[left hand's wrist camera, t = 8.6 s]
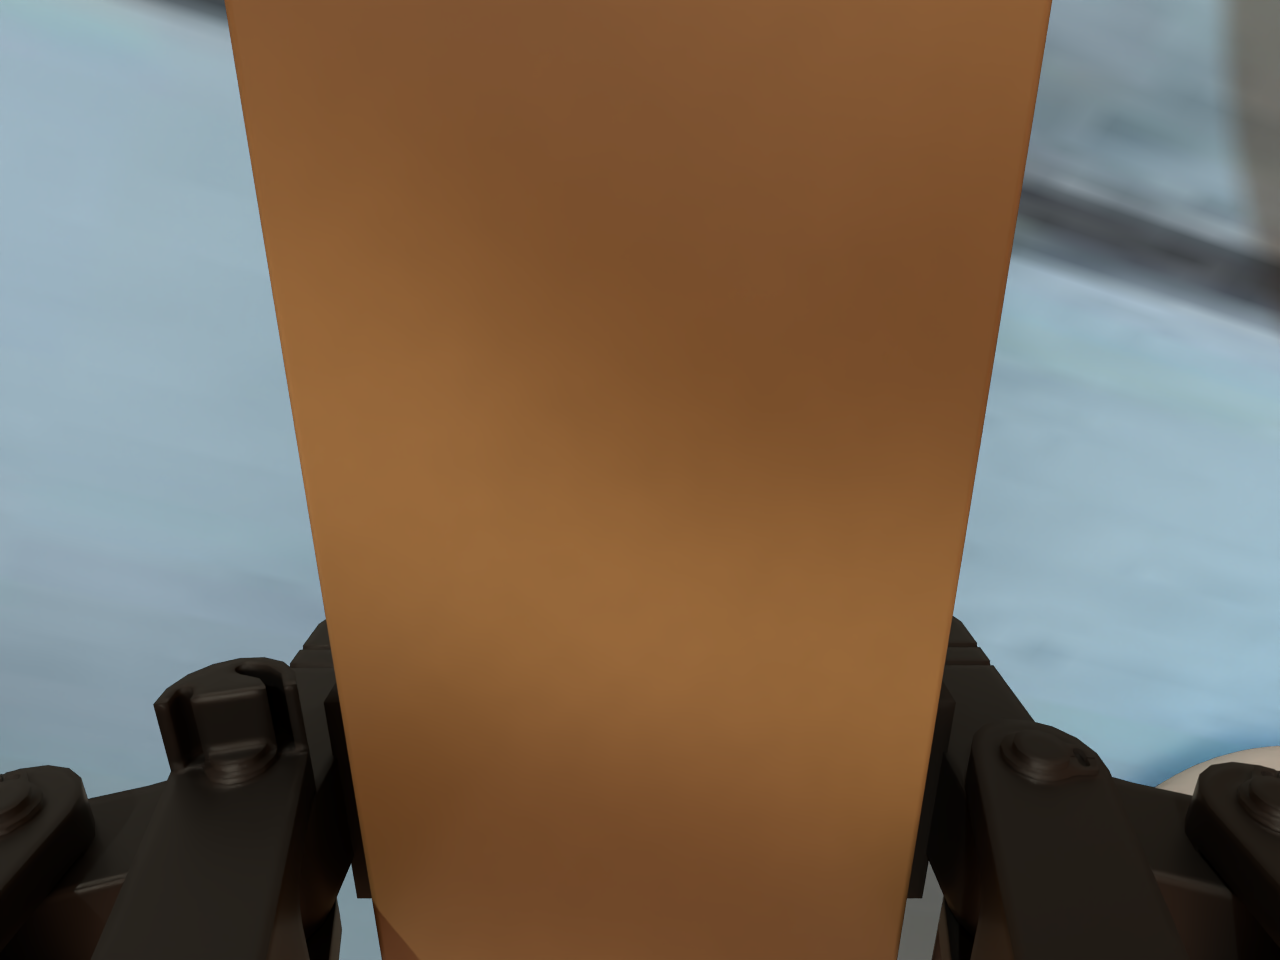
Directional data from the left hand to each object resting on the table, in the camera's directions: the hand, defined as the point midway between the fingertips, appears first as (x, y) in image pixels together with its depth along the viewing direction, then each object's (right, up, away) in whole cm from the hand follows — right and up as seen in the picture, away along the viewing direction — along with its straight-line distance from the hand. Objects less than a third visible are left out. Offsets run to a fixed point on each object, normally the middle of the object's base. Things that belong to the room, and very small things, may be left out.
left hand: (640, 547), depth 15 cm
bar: (0, +28, -10) cm, 29 cm away
